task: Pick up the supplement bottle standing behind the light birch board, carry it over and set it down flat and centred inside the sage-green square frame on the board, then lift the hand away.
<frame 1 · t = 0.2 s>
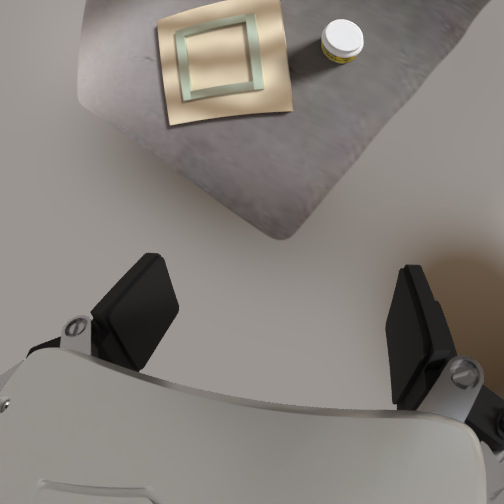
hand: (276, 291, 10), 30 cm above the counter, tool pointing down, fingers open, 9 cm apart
board: (222, 57, 31), on the counter
supplement bottle: (339, 48, 27), on the counter
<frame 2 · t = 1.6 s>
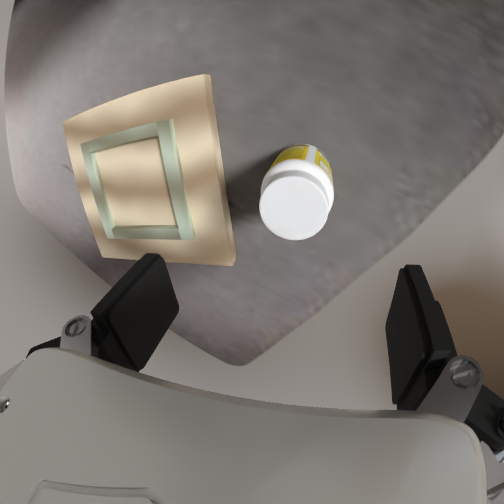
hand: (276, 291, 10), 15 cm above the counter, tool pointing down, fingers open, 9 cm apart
board: (142, 180, 26), on the counter
supplement bottle: (303, 169, 22), on the counter
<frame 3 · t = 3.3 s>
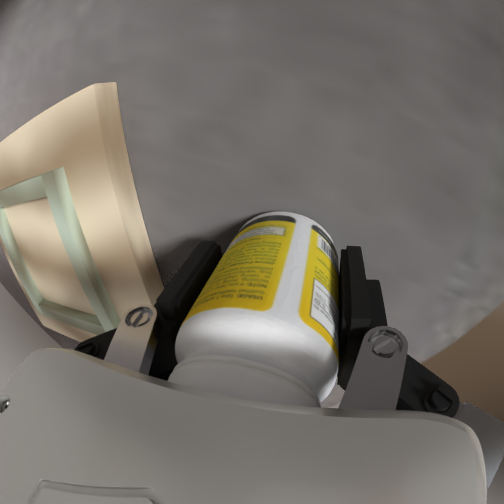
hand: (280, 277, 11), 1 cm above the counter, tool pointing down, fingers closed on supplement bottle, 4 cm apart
board: (59, 247, 16), on the counter
supplement bottle: (285, 255, 12), on the counter, touching gripper
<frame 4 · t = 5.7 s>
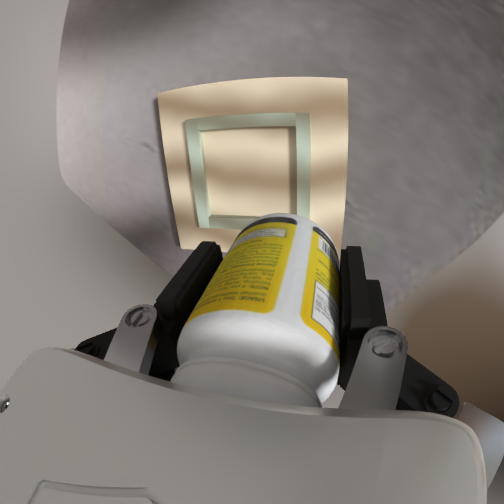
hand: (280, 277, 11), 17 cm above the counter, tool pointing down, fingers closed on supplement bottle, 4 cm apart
board: (253, 168, 27), on the counter
supplement bottle: (286, 257, 12), point 16 cm above the counter, touching gripper
when the fingers open (4 cm above the counter, at t = 8.3 s): supplement bottle stays where it is, resting on board.
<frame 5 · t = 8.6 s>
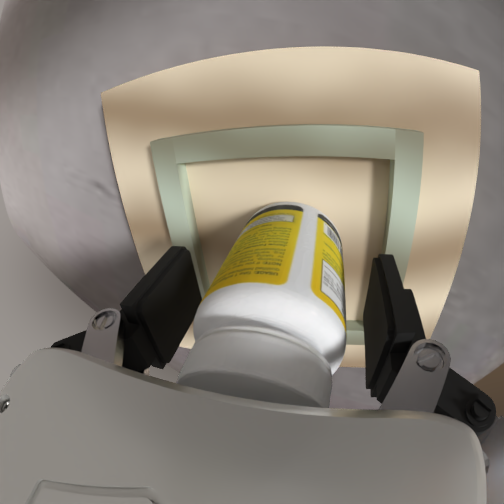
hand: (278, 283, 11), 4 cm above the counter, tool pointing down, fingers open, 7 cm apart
board: (291, 233, 14), on the counter
supplement bottle: (292, 244, 13), point 1 cm above the counter, touching board
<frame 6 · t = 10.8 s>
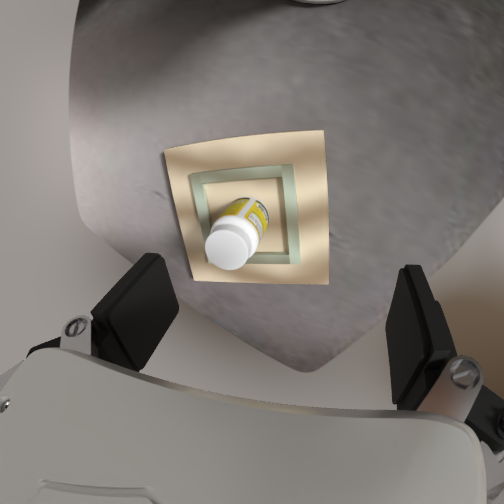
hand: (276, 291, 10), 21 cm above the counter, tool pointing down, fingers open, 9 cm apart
board: (250, 211, 32), on the counter
supplement bottle: (249, 215, 31), point 1 cm above the counter, touching board
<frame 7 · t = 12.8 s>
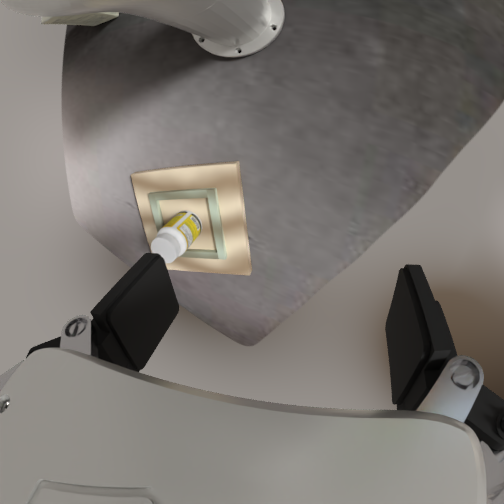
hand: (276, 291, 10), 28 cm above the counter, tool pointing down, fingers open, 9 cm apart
board: (192, 220, 44), on the counter
skincare box: (107, 12, 27), on the counter
supplement bottle: (189, 223, 42), point 1 cm above the counter, touching board
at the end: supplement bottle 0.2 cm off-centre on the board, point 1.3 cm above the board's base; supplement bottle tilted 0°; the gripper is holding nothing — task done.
